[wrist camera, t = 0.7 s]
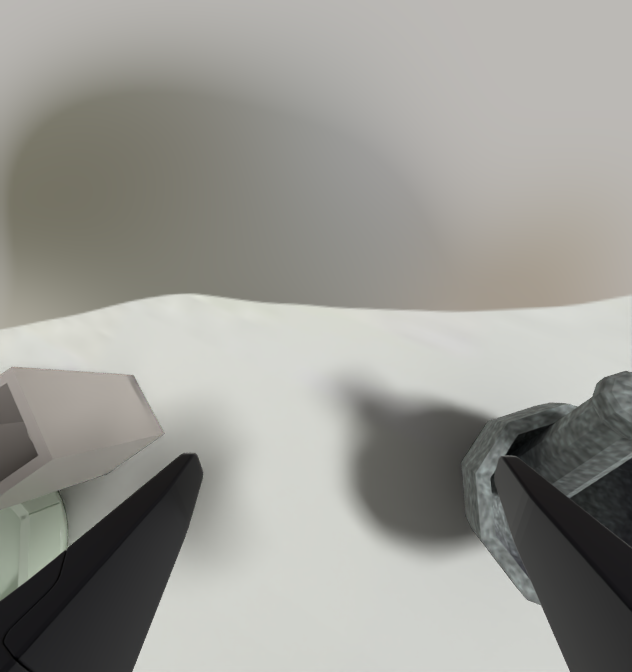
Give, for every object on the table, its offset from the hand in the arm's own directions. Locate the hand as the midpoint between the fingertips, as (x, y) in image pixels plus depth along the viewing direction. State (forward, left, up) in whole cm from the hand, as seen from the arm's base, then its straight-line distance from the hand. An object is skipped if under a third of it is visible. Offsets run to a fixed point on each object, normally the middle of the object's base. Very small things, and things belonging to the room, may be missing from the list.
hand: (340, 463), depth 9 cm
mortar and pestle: (-4, -11, -15) cm, 19 cm away
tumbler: (+2, +18, -14) cm, 23 cm away
